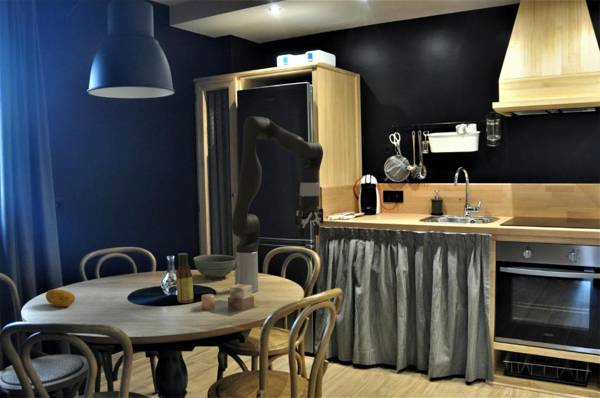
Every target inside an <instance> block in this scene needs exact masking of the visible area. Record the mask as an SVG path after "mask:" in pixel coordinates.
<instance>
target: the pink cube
mask: <svg viewBox="0 0 600 398" xmlns="http://www.w3.org/2000/svg"><path fill="white" fill-rule="evenodd" d="M215 301H216V299H215V294H213V293H206V294H202V295H201V305H202V310H213V309H215Z"/></svg>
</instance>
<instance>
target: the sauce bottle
mask: <svg viewBox="0 0 600 398" xmlns="http://www.w3.org/2000/svg"><path fill="white" fill-rule="evenodd" d="M177 258H178V259H177V260H178V261H177V262H178V265H177V269H176V271H175V276H176V277H175V279H176V296H177V303H180V304H189V303H190V304H191V303H192V302H194V287H193V286H194V285H193V284H194V282H193V274H192V271H191V267H190V265H189V254H188V253H187V252H181V253H178V254H177Z"/></svg>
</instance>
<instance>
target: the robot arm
mask: <svg viewBox="0 0 600 398" xmlns="http://www.w3.org/2000/svg"><path fill="white" fill-rule="evenodd" d="M257 140H271V141H274V142H275V143H276V144H277V145H278V146H279V147H280V148H282V149H283V150H285V151H287V152H289V153H291V154H292V155H294V156H295V157H296V158H297V159H299V160H301V161H307V165H305V166H303V167H301V169H300V183H299V184H300V185H299V207H300V208H301V209H300V210H295V212H294V227H297V228H298V236H299V238H301V239H304V238H305V237H306V228H305V226H306V225H307V224H308V223H309V222H312V223H313V235H314V236H319V235H320V229H321V228H320V226H321V224H322V225H323V224H324V223H325V222H324V208H318V207H320V183H319V182H320V170H321V166H322V162H323V157H324V149H323V145H322V144H321V143H320V142H317V141H305V140H304V138H302V137H301V136H299V135H297V134H295V133H292V132H290V131H288V130H286V129H284V128H283V127H280V126H279V125H278V124H277V123H275V122H273V121H272V120H271V119H269V118H268V117H264V116H255V115H253V116H252V115H250V116H248V117H247V118H246V119H245V121H244V124H243V130H242V154H241V165H240V170H239V179H238V188H237V196H236V201H235V207H234V211H233V215H232V220H231V231H232V233H233V235H234V236H236V237H243V238H242V240H241V241H240V242H239V243H237V245H236V247H235V255H236V256H235V257H236V263H235V266H236V268H235V269H234V285H237V284H243V285H252V293H255V292H258V291H259V262H258V252H259V251H258V247H259V244H260V229H261V227H260V226H261V225H260V219H259V217H258V216H257V215H256V214H253V213H249V209H250V206H251V203H252V202H253V200H254V198H255V197H256V195H257V193H258V192H259V190H260V187H261V184H262V176H263V169H262V165H261V162H260V159H259V157H258V154H257Z"/></svg>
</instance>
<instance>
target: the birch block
mask: <svg viewBox="0 0 600 398" xmlns="http://www.w3.org/2000/svg"><path fill="white" fill-rule="evenodd" d="M250 296H253V292H252V285H243V284H237V285H235V284H234V285H231V286H230V287H229V297H230V298H238V299H245V298H248V297H250Z"/></svg>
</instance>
